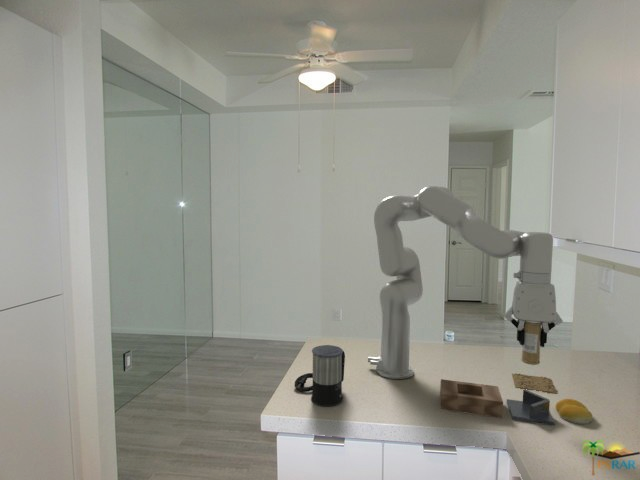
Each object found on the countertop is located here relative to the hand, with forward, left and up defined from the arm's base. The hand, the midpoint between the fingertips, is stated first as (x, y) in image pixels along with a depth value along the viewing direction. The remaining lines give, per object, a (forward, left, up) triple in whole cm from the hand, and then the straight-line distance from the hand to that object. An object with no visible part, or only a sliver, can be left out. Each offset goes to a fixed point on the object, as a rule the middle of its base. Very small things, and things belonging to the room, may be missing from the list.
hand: (531, 343), depth 111 cm
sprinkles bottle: (0, 0, -5) cm, 5 cm away
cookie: (+6, +22, -20) cm, 31 cm away
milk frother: (-58, -7, -20) cm, 62 cm away
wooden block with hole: (-15, 0, -20) cm, 25 cm away
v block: (0, 0, -20) cm, 20 cm away
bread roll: (+12, +3, -20) cm, 23 cm away
